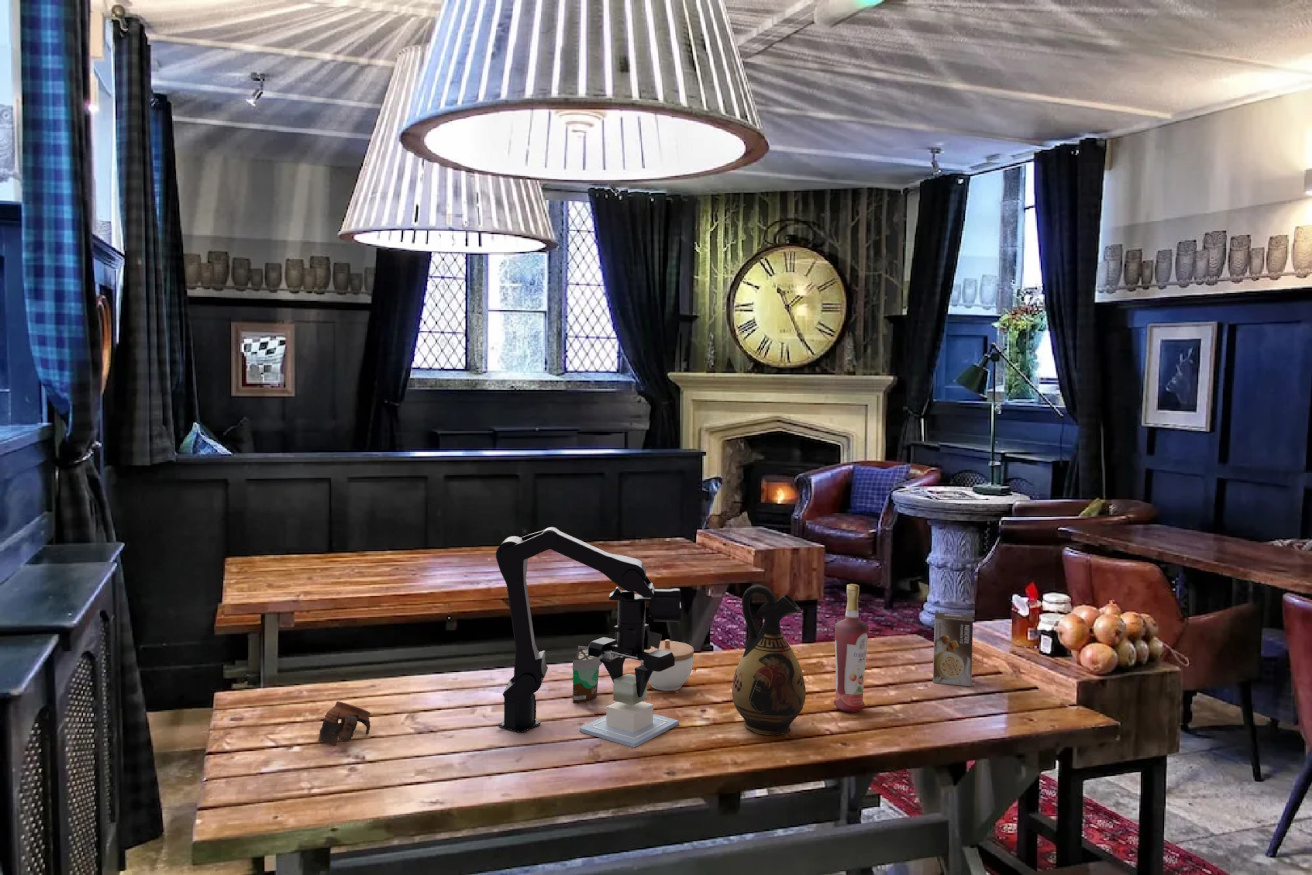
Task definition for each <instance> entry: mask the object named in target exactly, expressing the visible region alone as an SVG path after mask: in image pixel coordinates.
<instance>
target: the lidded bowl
mask: <svg viewBox="0 0 1312 875" xmlns="http://www.w3.org/2000/svg"><path fill="white" fill-rule="evenodd" d="M655 650H658V649H657V648H654V647H652V646H651V649H649V650H644V652H647V653H650V652H653V651H655ZM659 650H664V651H668V652H672V653H673V655H674V657H675V666H672V667H670V668H668V669H665V670H663V671H661V672H656V671H653V672H652V674H651V676H650V678H649V681H648V683H649V685H650V686H651V688H653V689H655V690H658V691H664V692H671V691H672V692H673V691H678V690H680V689H682V685H684V684H685V683H686V682H687V681H688V680H689V677H690V676H691V674H692V670H693V664H694V654H695V649H694V647H693V646H692V645H690V644H688V643H685V642H682V641H681V642H679V641H673V640H671V639H665V640H661V641H660V646H659Z"/></svg>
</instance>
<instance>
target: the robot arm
mask: <svg viewBox="0 0 1312 875" xmlns="http://www.w3.org/2000/svg"><path fill="white" fill-rule="evenodd" d="M548 550H551V551H553V552H555V553H558V554H560V555H562V556H564V557H567V558H569V559H571V560H573V561H576V562H578V563H580V564H583V565H585V566H587V567H589V568H591V569H594V570H596V571H598V572H600V573H601V574H603V575H604V576H606V578H608V579H609V580H611V582H613V583H614V584H616V585H617V586H616V587H615V589H614V590H613V591H612V592H610V593H609V596H608V600H609V601H617V625H614V626H613V632H616V633H617V634H616V636H617V637H616V638H617V639H613V638H611V637H609V638H608V637H605V636H603V637H600V638H598V639H595V640H592V641H590V643H588V646H587V647H588V655H589V656H593V657H600V656H601V657H602V658H601V659H600V662H602V664H603V666H604V667H605V669H606V672H608V675H609V677H610V678H611V681H612V683H613V684H614V679H616V678H618V677H621V676H623V675H624V674H623V673H624V663H625V661H626V659H632V660H636V661H640V665H639V666H637V667H634V675H635V677H636V688H637V694H638V697H639V698H640V697H642V696H643V694H644V691H645V688H646V686H647V687H648V683H649V682H648V681H649V678H650V676H651V674H652V672H653V671H656V672H661V671H663V670H665V669H668V668H670V667H672V666H675V657H674V655H673V653H672V652H668V651H664V650H659V646H660V641H662V636H663V634H662V633H658V632H654V631H651V630H650V626H649V625H650V624H649V623H648V624H647V623H646V605H647V604H646V603H647V602H648V617H650V618H651V620H653V622H654V623H655V622H661V623H666V622H667V623H681V621H682V620H681V619H682V618H681V617H682V615H681V614H682V605H681V604H682V603H681V589H680V588H670V589H668V588H666V589H665V588H661V589H660V588H655V585H654V583H653V582H652V581H651V580H650V578H649V577H648V576H647V568H646V565H645V564H644V563H643V561H641V560H640V559H638V558H635V557H630V556H625V555H622V554H614V553H610V552H607V551H605V550H603V549H600V548H598V547H596V546H593V545H592V544H590V543H587V542H586V541H585V542H584V541H583V540H581V539H578V538H576V537H573V536H571V535H569V534H567V533H565V532H562V531H561V530H559V529H558V528H557V527H554V526H550V527H547V528H545V529H543V530H540V531H537V532H534V533H529V534H527V535H525V536H522V537H519V536H517V535H516V536H515V535H513V536H512V535H511V536H508V537H506V538H505V539H504V541H502V542H501V544H500V545H499V546H498V547H497V548H496V552H495V560H496V562H497V565H498V567H499V572H500V575H501V576H502V578H503V581H504V582H505V584H506V590H507V597H508V605H509V611H510V617H511V619H510V620H511V623H512V624H511V625H512V632H513V638H514V646H515V658H514V667H513V677H511V678H510V679H509V681H508V683H507V684H506V687H505V689H504V691H503V693H502V696H503V712H504V713H503V721H501V722H499V723H498V727H501V728H502V729H503V728H505V729H507V730H509V731H510V730H511V731H512V732H513V731H514V732H516V733H524V732H526V731H528V730H531V729H533V728H535V727H537V726H539V725H541V724H542V722H541V720H537V699H536V692H538V691H539V690H540V689H541V687H542V685H543V681H544V679H545V678H546V674H547V672H548V669H549V667H548V666H547V663H546V650H542V651H541V650H540V651H539V650H538V647H537V645H536V641H535V634H534V628H533V620H532V613H531V606H530V599H529V591H528V585H527V571H528V563H529V561H528V559H530V558H533V557H535V556H537V555H539V554H542V553H543V552H546V551H548ZM622 589H623V590H622ZM651 646H652V647H654V648H657V649H658V650H655V651H653V652H650V653H647V652H644V650H649V649H651Z"/></svg>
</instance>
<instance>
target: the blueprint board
mask: <svg viewBox="0 0 1312 875" xmlns="http://www.w3.org/2000/svg"><path fill="white" fill-rule="evenodd" d="M605 714H606V715H603V716H602V717H600V718H598V719H595V720H594V721H591V722H589V723H587V724H585V725H583V726H580V727H579V730H578V731H579V733H583V734H587V735H590V736H593V737H597V738H600V739H604V740H607V741H610V742H613V743H617V744H621V745H624V746H628V747H631V748H636V747H638V746H640V745H642V744H644V743H646V742H649V741H651V739H653V738H655V737H657V736H660V735H662V734H663V733H665V732H667V731H668V730H670V729H672V728H674V727H676V726H678V725H679V722H680V721H679V720H678V719H674V718H670V717H667V716H663V715H659V714H655V713H654V704H653V703H648V702H646V701H642V702H640V703H637V704H635V705H633V706H632V705H628V704H624V703H621V702H617V701H614V703H611V704H610V705H607V706H606V713H605Z"/></svg>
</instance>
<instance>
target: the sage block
mask: <svg viewBox="0 0 1312 875" xmlns="http://www.w3.org/2000/svg"><path fill="white" fill-rule="evenodd" d="M612 694H613V697H612V701H614V702H621V703H624V704H628V705H632V706H633V705H635V704H637V703H640V702H645V701H646V700H647V699H648V697H647V696H648V685H647V686H646V688H645V691H644V694H643V696H642V697H640V698H639V697H638V694H637V688H636V677H635V674H632V673H626V674H623V676H621V677H618V678H616V679H614V683H613V692H612Z"/></svg>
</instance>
